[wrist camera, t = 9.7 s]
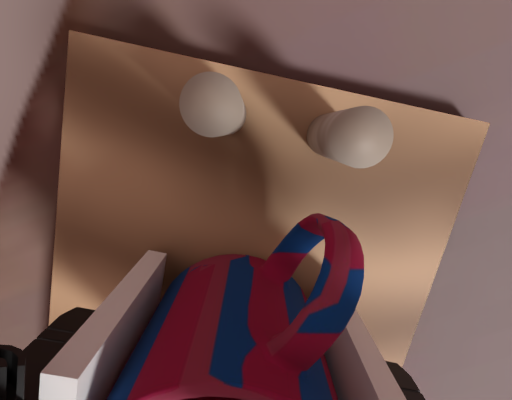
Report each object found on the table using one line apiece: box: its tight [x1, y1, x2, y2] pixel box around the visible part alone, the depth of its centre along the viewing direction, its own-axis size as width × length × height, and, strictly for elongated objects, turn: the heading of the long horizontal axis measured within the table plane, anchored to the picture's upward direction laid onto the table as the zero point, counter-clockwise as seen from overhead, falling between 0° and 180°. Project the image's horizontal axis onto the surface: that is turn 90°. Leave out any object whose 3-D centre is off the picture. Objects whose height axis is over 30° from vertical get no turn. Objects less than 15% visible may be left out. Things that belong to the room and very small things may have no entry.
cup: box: [105, 213, 364, 400], centre depth 10 cm, size 7×10×7 cm
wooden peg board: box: [49, 30, 490, 367], centre depth 12 cm, size 18×16×5 cm
